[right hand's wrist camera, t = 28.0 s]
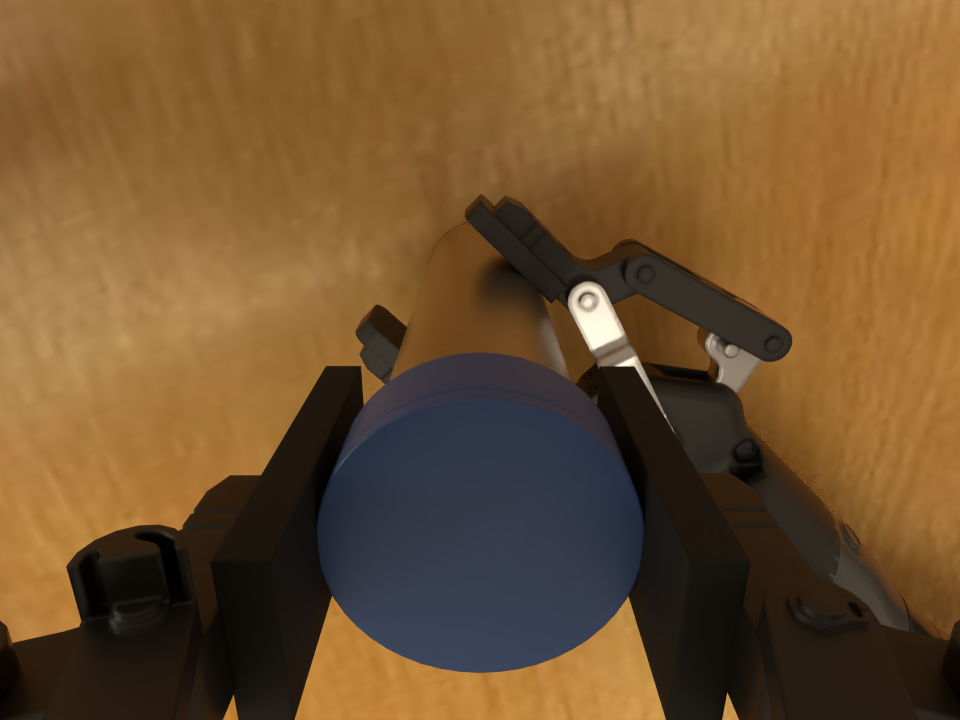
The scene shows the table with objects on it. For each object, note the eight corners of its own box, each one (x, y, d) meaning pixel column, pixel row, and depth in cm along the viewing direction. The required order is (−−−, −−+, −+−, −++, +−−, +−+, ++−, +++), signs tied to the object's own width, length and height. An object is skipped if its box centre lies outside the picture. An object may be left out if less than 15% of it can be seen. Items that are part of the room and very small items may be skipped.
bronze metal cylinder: (421, 226, 27) (330, 411, 11) (528, 216, 27) (604, 387, 10) (434, 327, 28) (373, 625, 12) (535, 318, 28) (611, 607, 12)
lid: (284, 435, 12) (247, 496, 10) (538, 297, 11) (550, 336, 9) (433, 631, 14) (425, 714, 12) (665, 525, 13) (698, 597, 11)
